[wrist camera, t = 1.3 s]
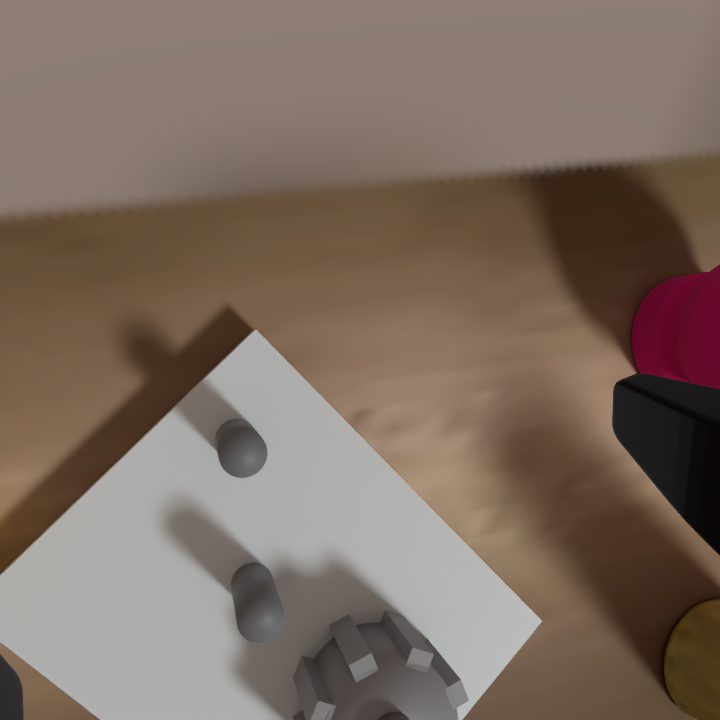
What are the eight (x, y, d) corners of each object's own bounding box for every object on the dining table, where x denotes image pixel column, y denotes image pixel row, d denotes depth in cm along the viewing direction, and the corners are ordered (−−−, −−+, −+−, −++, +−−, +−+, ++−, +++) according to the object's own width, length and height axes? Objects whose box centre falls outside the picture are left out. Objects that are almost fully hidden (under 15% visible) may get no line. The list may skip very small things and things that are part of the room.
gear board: (316, 867, 25) (346, 994, 20) (-26, 598, 22) (-91, 672, 17) (527, 609, 28) (601, 667, 23) (252, 330, 24) (268, 325, 19)
